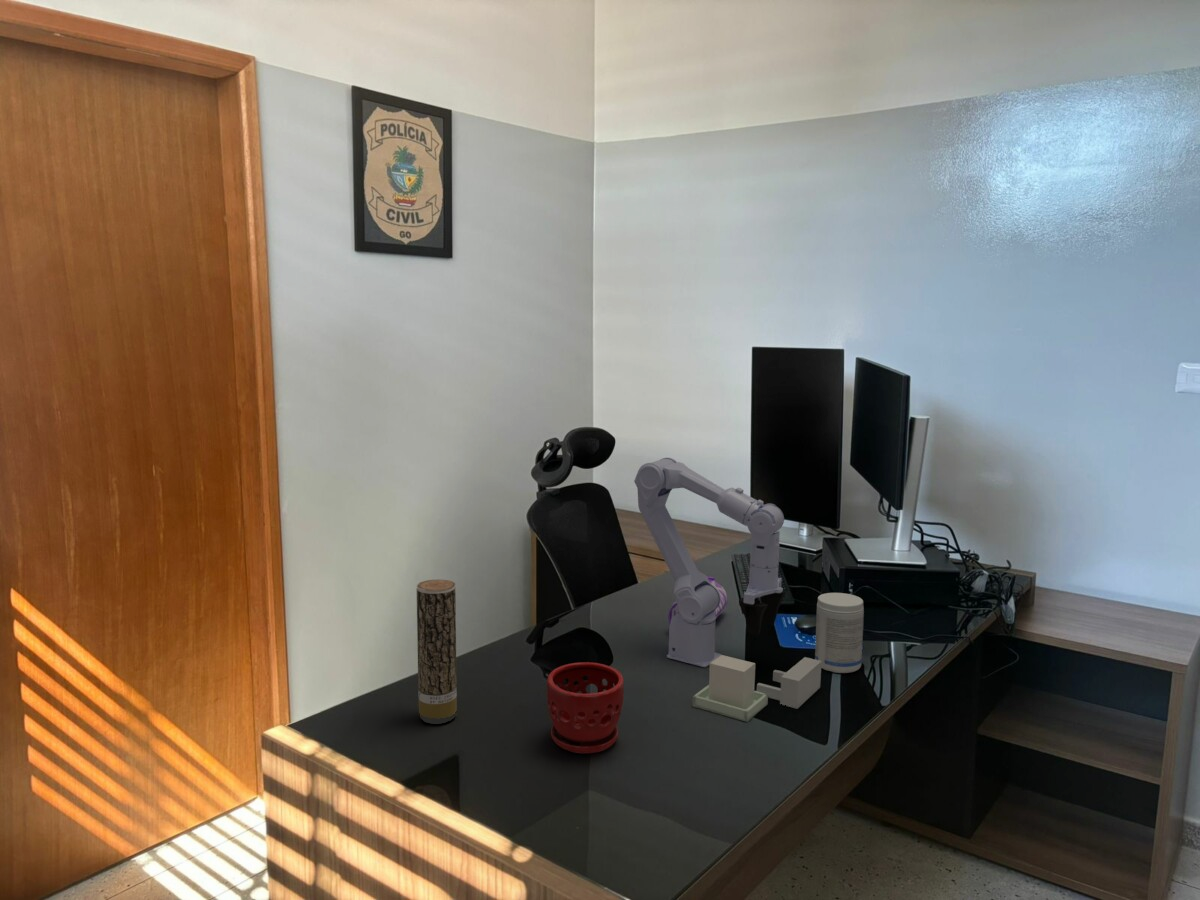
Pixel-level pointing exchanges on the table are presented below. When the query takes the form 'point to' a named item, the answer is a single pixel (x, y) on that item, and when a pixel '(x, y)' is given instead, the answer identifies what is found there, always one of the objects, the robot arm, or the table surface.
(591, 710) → the plant pot
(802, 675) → the dock
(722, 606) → the pencil case
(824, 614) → the supplement tub
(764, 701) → the tray
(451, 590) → the paper tube
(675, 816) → the table surface
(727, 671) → the taupe rectangular block
